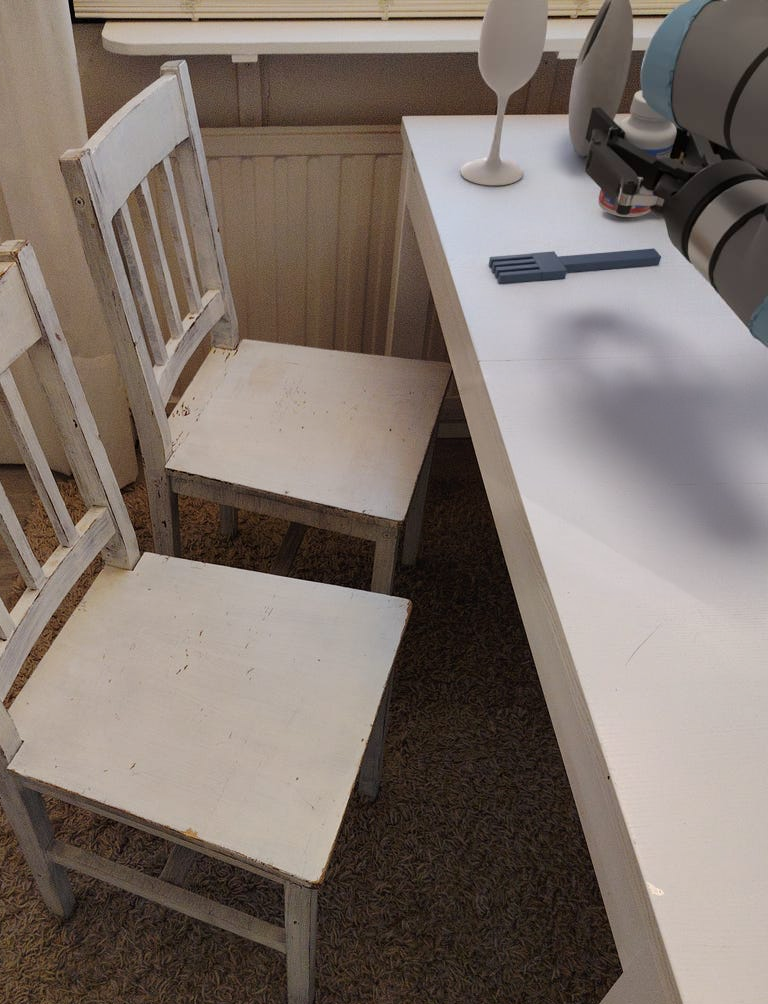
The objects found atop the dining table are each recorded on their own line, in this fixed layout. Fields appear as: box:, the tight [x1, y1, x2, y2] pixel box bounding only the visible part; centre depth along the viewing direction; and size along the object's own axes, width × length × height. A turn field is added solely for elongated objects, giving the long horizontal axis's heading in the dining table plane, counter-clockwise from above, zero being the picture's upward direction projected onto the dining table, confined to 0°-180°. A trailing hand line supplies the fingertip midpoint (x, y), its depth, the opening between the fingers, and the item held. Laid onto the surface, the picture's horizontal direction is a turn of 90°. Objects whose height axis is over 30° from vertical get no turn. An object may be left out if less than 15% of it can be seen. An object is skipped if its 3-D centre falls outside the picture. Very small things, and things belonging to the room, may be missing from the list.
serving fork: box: [488, 248, 662, 284], centre depth 98 cm, size 20×5×1 cm, turn 97°
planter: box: [568, 0, 634, 157], centre depth 113 cm, size 18×7×19 cm, turn 165°
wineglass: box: [460, 0, 549, 186], centre depth 108 cm, size 9×9×21 cm
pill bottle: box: [597, 89, 677, 218], centre depth 79 cm, size 6×5×10 cm
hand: (622, 120), depth 81 cm, fingers closed on pill bottle, 5 cm apart
